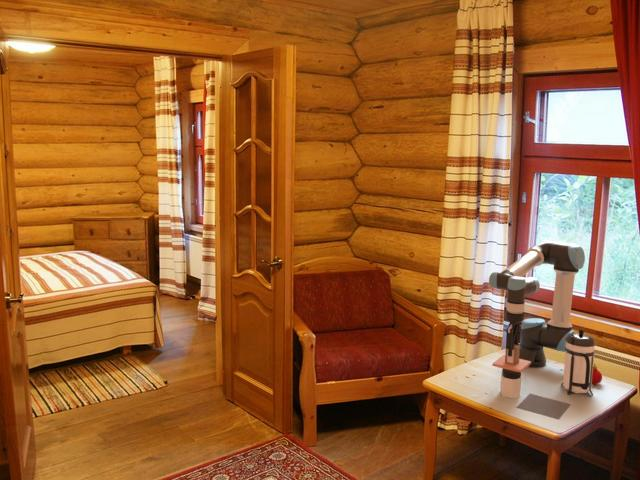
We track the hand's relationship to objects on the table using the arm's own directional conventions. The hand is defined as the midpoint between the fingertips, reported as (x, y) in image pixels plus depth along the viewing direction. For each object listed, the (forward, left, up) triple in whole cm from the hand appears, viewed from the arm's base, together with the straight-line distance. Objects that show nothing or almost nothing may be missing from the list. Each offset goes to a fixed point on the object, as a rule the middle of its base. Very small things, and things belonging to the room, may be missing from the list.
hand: (512, 361), depth 269 cm
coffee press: (-22, +24, -17) cm, 37 cm away
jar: (0, 0, -17) cm, 17 cm away
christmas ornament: (-37, +27, -17) cm, 49 cm away
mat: (+3, +16, -17) cm, 23 cm away
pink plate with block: (0, 0, -2) cm, 2 cm away
